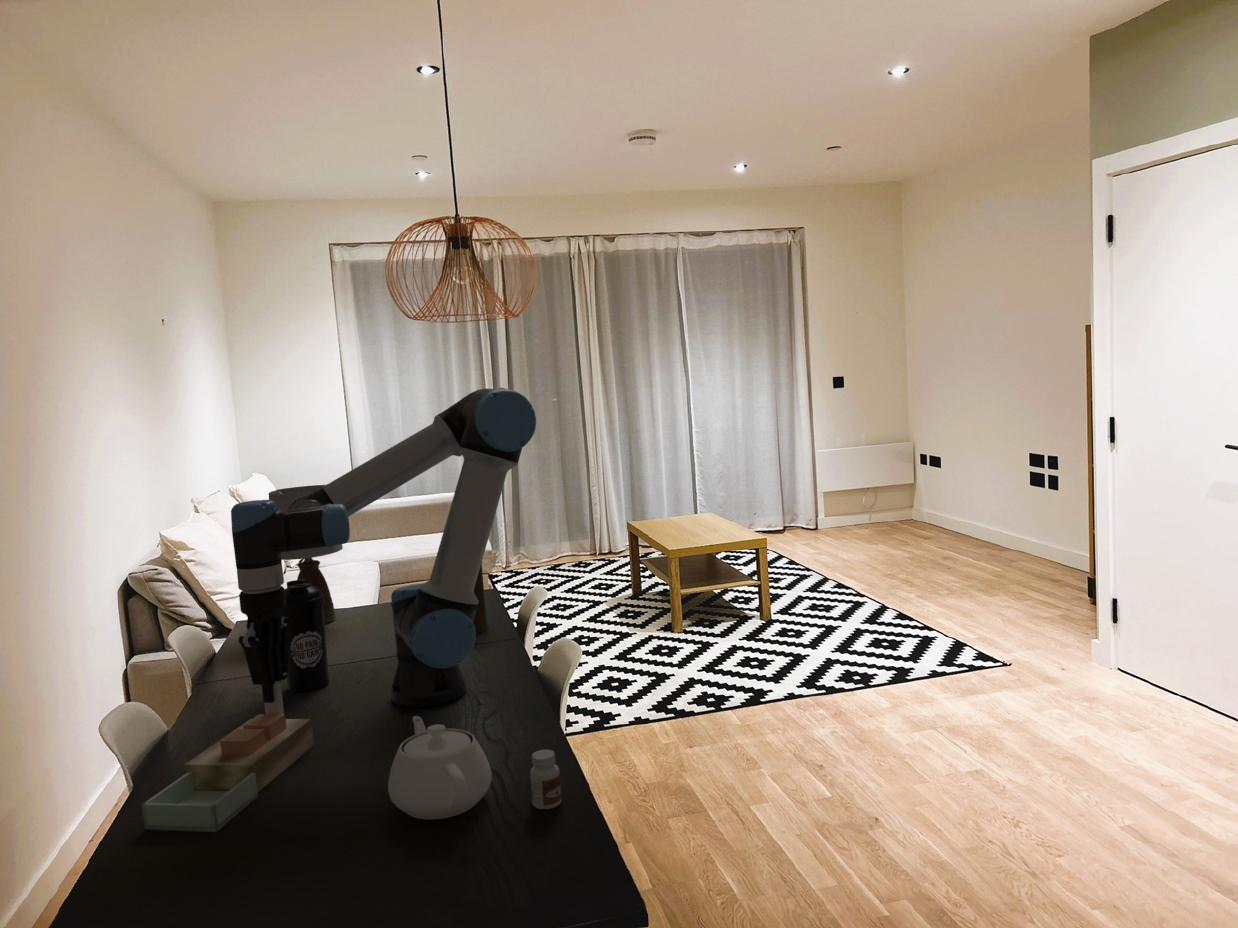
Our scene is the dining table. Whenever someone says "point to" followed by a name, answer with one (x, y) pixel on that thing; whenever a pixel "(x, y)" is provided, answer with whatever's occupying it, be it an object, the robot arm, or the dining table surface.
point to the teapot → (438, 772)
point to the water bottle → (306, 638)
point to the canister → (480, 604)
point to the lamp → (308, 566)
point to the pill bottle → (545, 780)
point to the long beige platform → (251, 759)
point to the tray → (196, 806)
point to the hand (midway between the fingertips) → (275, 717)
